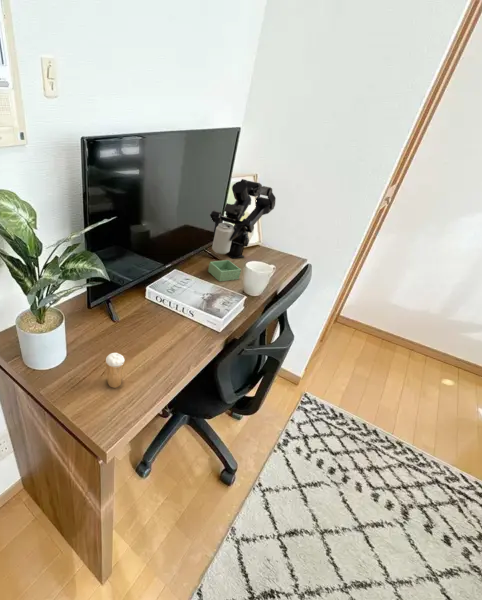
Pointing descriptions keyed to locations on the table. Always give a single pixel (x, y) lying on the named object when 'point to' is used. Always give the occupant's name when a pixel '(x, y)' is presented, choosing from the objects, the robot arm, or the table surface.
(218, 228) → the can
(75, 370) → the table surface
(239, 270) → the bin
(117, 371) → the milkshake
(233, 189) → the robot arm
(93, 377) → the table surface
